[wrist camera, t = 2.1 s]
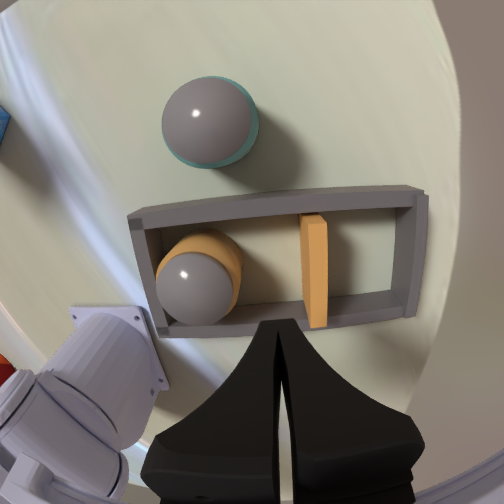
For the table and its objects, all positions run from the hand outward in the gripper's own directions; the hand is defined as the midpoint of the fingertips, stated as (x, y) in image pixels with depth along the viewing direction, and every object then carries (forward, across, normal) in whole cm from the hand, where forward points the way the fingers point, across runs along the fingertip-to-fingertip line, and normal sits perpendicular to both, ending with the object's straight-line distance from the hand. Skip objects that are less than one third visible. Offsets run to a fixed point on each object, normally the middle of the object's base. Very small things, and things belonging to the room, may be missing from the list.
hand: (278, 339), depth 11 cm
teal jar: (+9, +2, -9) cm, 13 cm away
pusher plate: (+9, -2, 0) cm, 9 cm away
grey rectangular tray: (+9, 0, 0) cm, 9 cm away
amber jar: (+9, +4, 0) cm, 10 cm away
